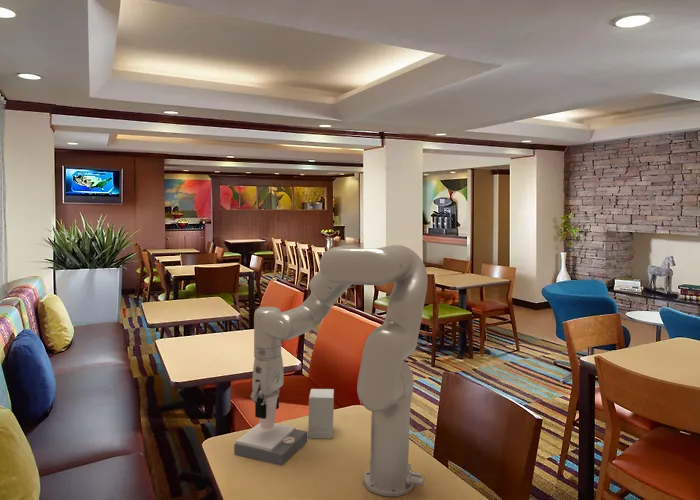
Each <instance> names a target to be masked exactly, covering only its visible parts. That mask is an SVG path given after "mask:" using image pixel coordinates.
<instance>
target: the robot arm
mask: <svg viewBox="0 0 700 500" xmlns="http://www.w3.org/2000/svg"><path fill="white" fill-rule="evenodd" d="M428 282H429V281H428V272H427V268H426V265H425V263H424V262H423V259H422V258H421V257H420V256H419V254H417V252H415V251H414V249H411V248H409V247H407V246H404V245H401V244H393V245H387V246H382V247H377V248H361V247H359V246H357V245H355V244H347V245H339V246H334V247H331V248H329V249H328V250H326V251H325V252H324V253H323V254H322V256H321V257H320V260H319V271H318V272H317V273H316V274H315V275H313V277H312V278H311V279H310V281H309V284H308V285H309V286H308V287H309V289H310V292H311V293H310V295H308V297H307V298H306V299H305V300H304V301H303V302H302V303H301V304H300V305H299V306H297V307H294V308H291V309H288V310H285V311H281V309H280V308H278V307H275V306H260V307H258V308H257V309H255V311H254V314H253V315H254V316H253V358H254V361H253V369H252V392H251V394H250V398H251V400H252V401H253V404H254V406H255V407H254V409H255V411H254V413H255V418H258V419H260V418H262V419H265V418H266V404H265V400H266V396H268V395H270V394H272V393H273V392H275V391H277V392H278V395H279V397H278V398H277V405H276V410H279V408H280V393H281V390H280V389H281V387H283V385H284V379H285V378H284V375H285V374H284V362H283V356H282V341H289V340H293V339H295V338H297V337H298V336H301V335H304V334H306V333H309V332H310V331H312V330H313V329H314V328H315V327H317V325H319V324H320V323H321V322H322V321H323V320H324V319H325V318H326V316H327V315H328V314H329V313H330V311H331V310H332V308H333V307H334V304H335V303H336V301H337V300H338V299H339V298H340V297H341V296H342V295H343V294H344V293H345V292H346V291H347V290H348V289H349V288H350V287H351V286H352V285H359V286H384V285H388V284H390V283H393V287H392V290H391V293H390V296H389V298H388V302H387V310H386V313H385V318H384V321H383V323H382V324H381V325H380V326H378V327H376V328H374V329H373V330H372V331H371V332H370V333H369V335H368V336H367V338H366V340H365V342H364V346H363V350H362V356H361V360H360V361H361V362H360V367H359V372H358V378H357V385H356V386H357V387H356V391H357V397H358V400H359V402H360V403H361V405H362V406H363V407H364V408H365V409H366V410H368V411H369V412H371V419H370V420H371V422H370V424H371V425H370V458H369V460H370V461H369V469H368V470H367V471H366V472H365V473H364V474H363V485H364V486H365V488H367V490H369V491H370V492H372V493H373V494H376V495H379V496H381V497H382V496H383V497H399V496H404V495H405V494H407V493H409V492H411V491H412V489H413V487H414V485H415V486H419V487H422V488H423V487H424V486H425V479H426V478H424V477H423V474H422V473H421V472H415V471H413V470H412V464H410V463H409V446H410V444H409V443H410V423H411V421H410V420H411V419H410V418H411V406H412V405H411V404H412V398H413V392H414V385H415V383H414V382H415V381H414V378H415V377H414V373H413V371H412V368H411V367H410V366H409V364H407V362H406V361H405V360H406V359H407V358H409V357H410V356H412V355H413V353H414V352H415V350H416V349H417V347H418V346H417V345H418V339H419V335H420V329H421V324H422V323H421V322H422V318H423V312H424V306H425V301H426V296H427V292H428V291H427V290H428ZM260 391H262V393H260ZM259 395H262V396H263V397H262V399H261V398H259Z"/></svg>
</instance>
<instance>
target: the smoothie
mask: <svg viewBox="0 0 700 500" xmlns="http://www.w3.org/2000/svg"><path fill="white" fill-rule="evenodd" d="M260 393H262V391H260ZM262 397H263V396H262V395H259V398H261V399H262ZM278 397H279V398H280V394H279V395H278V392H277V391H275V392H273V393H272V394H270V395H268V396H266V400H265V404H266V418H265V419H262V418H259V423H260V425H261V428H263V429H270V428H273V427H274V423H275V418H276V412H277V409H276V405H277V398H278Z"/></svg>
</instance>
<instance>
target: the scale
mask: <svg viewBox="0 0 700 500" xmlns="http://www.w3.org/2000/svg"><path fill="white" fill-rule="evenodd" d="M307 442H308V430H307V431H306V430H301V429H297V428H296V427H295V426H291V425H286V424H281V423H276V422H274V427H273V428H270V429H263V428H261V425H260V422H259V423H257V424H256V425H255V426H254V427H252V428H250V429H249V430H248V431H247V432H246V433H244V434H243V435H242V436H240V437H239V438H237V439H236V440H235V443H234V444H233V445H234V446H233V449H234V450H233V451H234V454H233V455H235V456H239V457H244V458H248V459H252V460H256V461H261V462H265V463H268V464H272V465H277V466H282V467H283V465H284V464H286V463H287V462H288V461H289V460H290V459H291V458H292V457H293V456H294V455H295V454H296V453H297V452H298V451H299V450H300V449H301V448H302V447H303V446H304V445H305V444H306V443H307Z"/></svg>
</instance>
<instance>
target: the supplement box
mask: <svg viewBox="0 0 700 500" xmlns="http://www.w3.org/2000/svg"><path fill="white" fill-rule="evenodd" d="M334 400H335V389H334V388H311V389H310V392H309V396H308V427H307V428H308V430H307V439H308V438H309V439H333V431H334V430H333V428H334V411H335V410H334V408H335V407H334V406H335V405H334V404H335V401H334Z"/></svg>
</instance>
